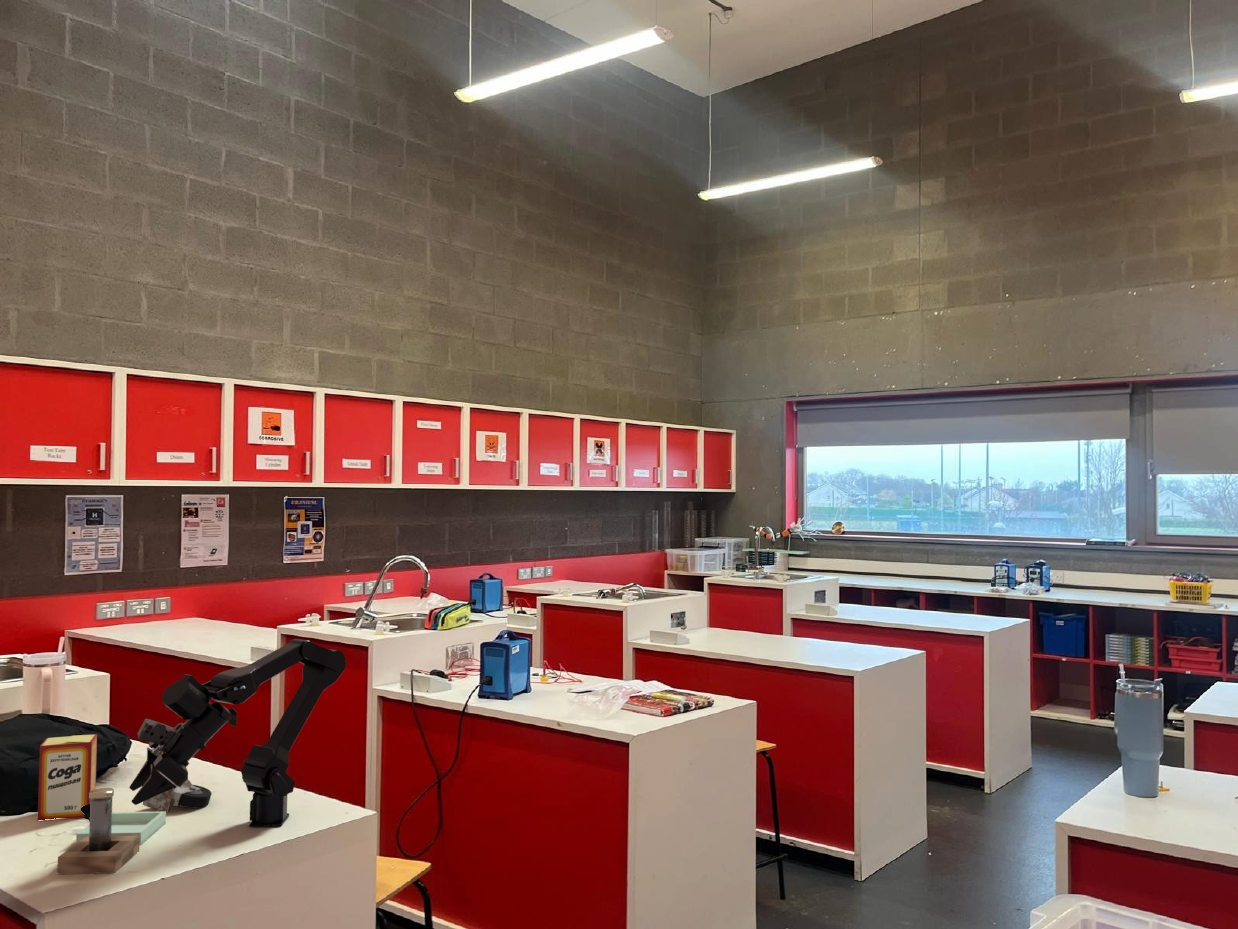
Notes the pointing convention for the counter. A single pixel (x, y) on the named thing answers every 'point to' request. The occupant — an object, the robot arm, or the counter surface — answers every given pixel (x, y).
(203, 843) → the counter surface
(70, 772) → the baking soda box
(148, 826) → the tray
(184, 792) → the caster wheel
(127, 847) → the block
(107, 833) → the pin
